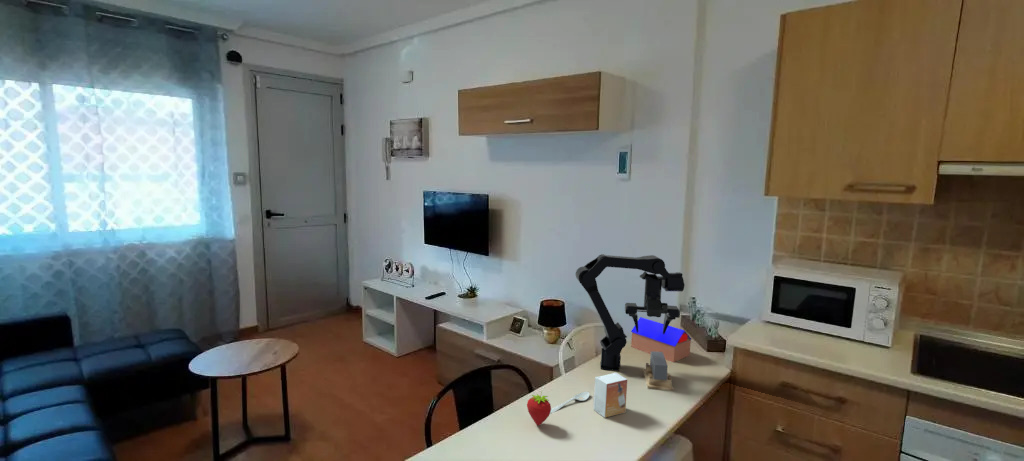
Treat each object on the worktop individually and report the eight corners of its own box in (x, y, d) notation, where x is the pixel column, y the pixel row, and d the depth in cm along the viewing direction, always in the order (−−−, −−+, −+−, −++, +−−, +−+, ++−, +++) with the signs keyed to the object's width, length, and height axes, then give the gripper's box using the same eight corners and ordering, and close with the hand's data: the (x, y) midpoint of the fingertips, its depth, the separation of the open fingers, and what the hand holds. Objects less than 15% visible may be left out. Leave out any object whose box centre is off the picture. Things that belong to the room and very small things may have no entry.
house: (647, 341, 204) (648, 314, 202) (690, 356, 189) (692, 327, 187) (629, 347, 196) (631, 319, 195) (673, 363, 181) (675, 333, 180)
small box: (604, 418, 140) (606, 384, 138) (592, 409, 145) (594, 376, 143) (626, 412, 143) (628, 379, 142) (614, 404, 148) (615, 371, 147)
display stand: (647, 388, 159) (648, 378, 159) (643, 370, 173) (644, 361, 173) (672, 390, 158) (673, 380, 158) (666, 373, 172) (667, 363, 171)
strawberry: (536, 416, 140) (537, 383, 139) (555, 426, 135) (556, 392, 133) (521, 422, 136) (522, 389, 135) (540, 434, 131) (541, 399, 129)
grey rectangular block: (654, 379, 160) (655, 364, 159) (650, 364, 171) (650, 351, 171) (666, 380, 159) (667, 365, 158) (661, 365, 171) (662, 352, 170)
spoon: (593, 399, 152) (593, 394, 152) (546, 419, 139) (546, 414, 139) (583, 394, 155) (583, 389, 155) (536, 414, 142) (536, 408, 142)
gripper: (627, 295, 167) (625, 338, 169) (684, 298, 164) (681, 342, 166) (625, 287, 177) (623, 328, 180) (678, 290, 174) (675, 332, 177)
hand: (650, 332), depth 175 cm, fingers open, 9 cm apart
